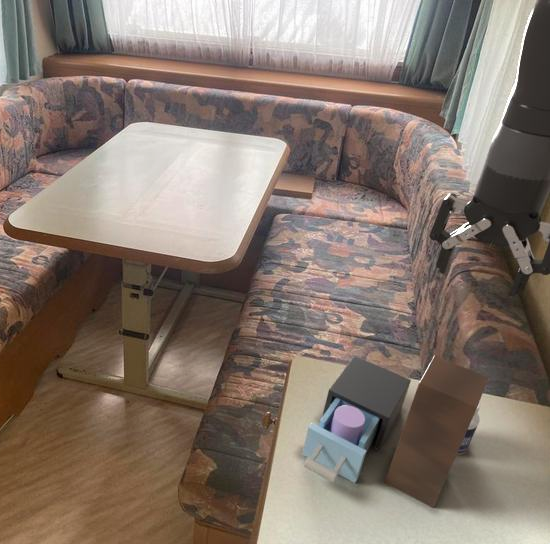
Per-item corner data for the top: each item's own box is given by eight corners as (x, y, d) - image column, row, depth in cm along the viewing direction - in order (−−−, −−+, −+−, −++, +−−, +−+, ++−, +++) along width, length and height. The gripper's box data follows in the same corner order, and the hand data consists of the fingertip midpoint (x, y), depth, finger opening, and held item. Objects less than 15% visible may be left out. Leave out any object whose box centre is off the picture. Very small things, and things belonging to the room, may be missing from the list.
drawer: (342, 506, 79) (350, 478, 76) (287, 475, 83) (293, 447, 80) (377, 442, 89) (386, 416, 86) (327, 417, 93) (334, 391, 90)
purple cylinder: (361, 442, 88) (369, 414, 85) (350, 460, 85) (358, 432, 82) (334, 428, 90) (341, 400, 87) (322, 446, 87) (329, 417, 84)
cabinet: (377, 453, 89) (389, 418, 85) (320, 424, 93) (328, 389, 89) (399, 413, 96) (411, 379, 92) (345, 388, 101) (354, 355, 97)
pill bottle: (431, 454, 89) (449, 409, 84) (427, 429, 93) (444, 384, 88) (468, 462, 88) (489, 417, 83) (462, 436, 93) (482, 391, 87)
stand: (444, 478, 85) (489, 377, 75) (431, 511, 80) (476, 407, 70) (398, 455, 89) (434, 355, 78) (382, 486, 84) (419, 382, 73)
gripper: (449, 158, 67) (413, 275, 76) (588, 192, 61) (531, 316, 69) (464, 142, 73) (429, 254, 81) (593, 172, 66) (541, 290, 74)
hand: (476, 282), depth 75 cm, fingers open, 8 cm apart
